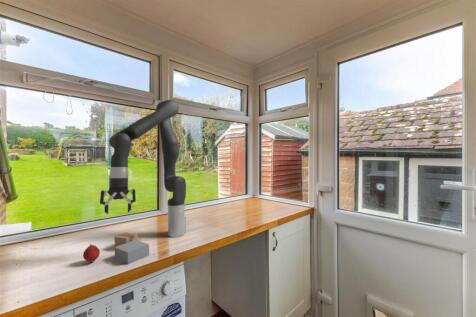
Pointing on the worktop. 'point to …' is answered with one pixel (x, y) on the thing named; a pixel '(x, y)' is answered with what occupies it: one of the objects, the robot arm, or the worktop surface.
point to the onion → (91, 253)
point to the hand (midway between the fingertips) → (118, 212)
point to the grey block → (131, 251)
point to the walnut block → (125, 238)
